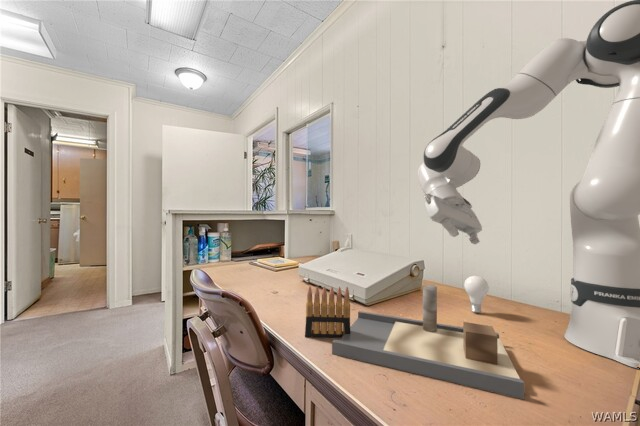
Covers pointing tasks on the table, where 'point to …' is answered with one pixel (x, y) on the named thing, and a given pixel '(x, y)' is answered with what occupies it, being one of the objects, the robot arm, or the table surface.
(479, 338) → the walnut block
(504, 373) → the sliding platform with post
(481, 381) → the rail base
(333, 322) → the ammunition clip
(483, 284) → the lightbulb
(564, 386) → the table surface
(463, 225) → the robot arm
